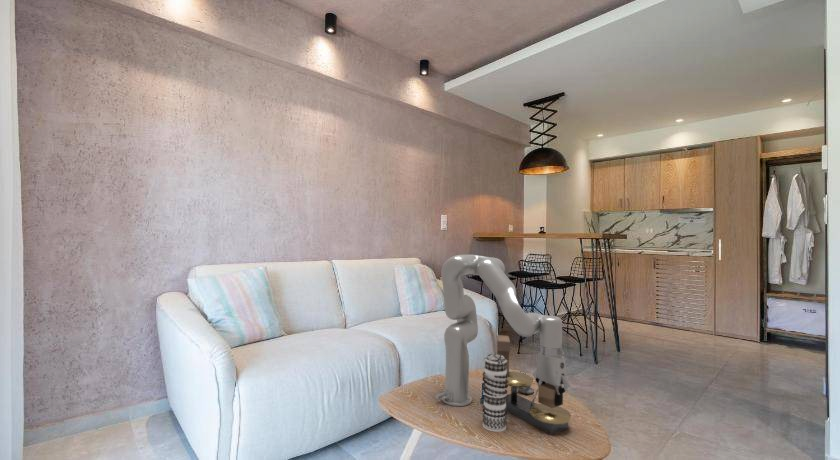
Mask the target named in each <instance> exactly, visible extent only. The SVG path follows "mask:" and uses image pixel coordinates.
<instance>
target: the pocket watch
mask: <svg viewBox="0 0 840 460" xmlns="http://www.w3.org/2000/svg"><path fill="white" fill-rule="evenodd" d="M519 373H523V374H526V375H527V373H526V372H525V371H524V370H520V371H519ZM517 391H519V393H522V394H526V395H532V394H535V390H534V389H533V388H532V386H531V385H530V386H527V387H517Z"/></svg>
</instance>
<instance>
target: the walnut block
mask: <svg viewBox="0 0 840 460" xmlns="http://www.w3.org/2000/svg"><path fill="white" fill-rule="evenodd" d="M537 387H538V392H537V395H538V396H537V397H538V402H537V403H538V404H544V405H546V406H548V407H550V408H555V407H558V406H559V407H561V406H563V405H564V393H563V394H562V404H561V405H558V406H556V405H555V394H557V393H556V390H555V386H554V385H552V384H549V383H545V384H542V385H538V384H537ZM559 390H560V389H559Z"/></svg>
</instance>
